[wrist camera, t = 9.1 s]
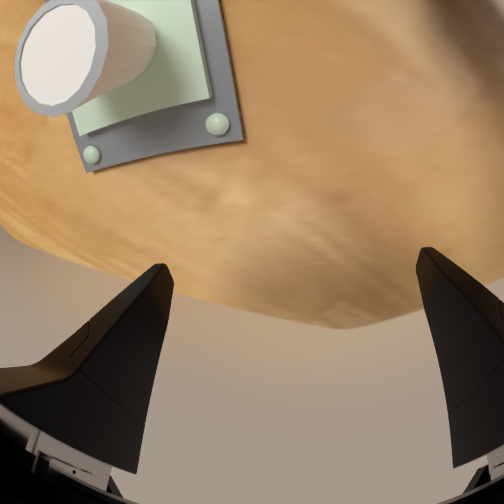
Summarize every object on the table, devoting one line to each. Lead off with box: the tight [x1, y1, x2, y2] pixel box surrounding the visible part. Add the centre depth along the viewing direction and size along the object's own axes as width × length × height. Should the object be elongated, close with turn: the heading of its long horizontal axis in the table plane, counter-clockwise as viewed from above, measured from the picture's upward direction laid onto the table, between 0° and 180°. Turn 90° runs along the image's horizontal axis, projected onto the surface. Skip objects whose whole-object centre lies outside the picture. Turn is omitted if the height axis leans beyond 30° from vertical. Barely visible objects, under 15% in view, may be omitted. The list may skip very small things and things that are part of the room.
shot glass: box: [14, 0, 156, 117], centre depth 11 cm, size 7×7×7 cm
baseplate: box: [45, 0, 244, 173], centre depth 14 cm, size 14×18×2 cm
